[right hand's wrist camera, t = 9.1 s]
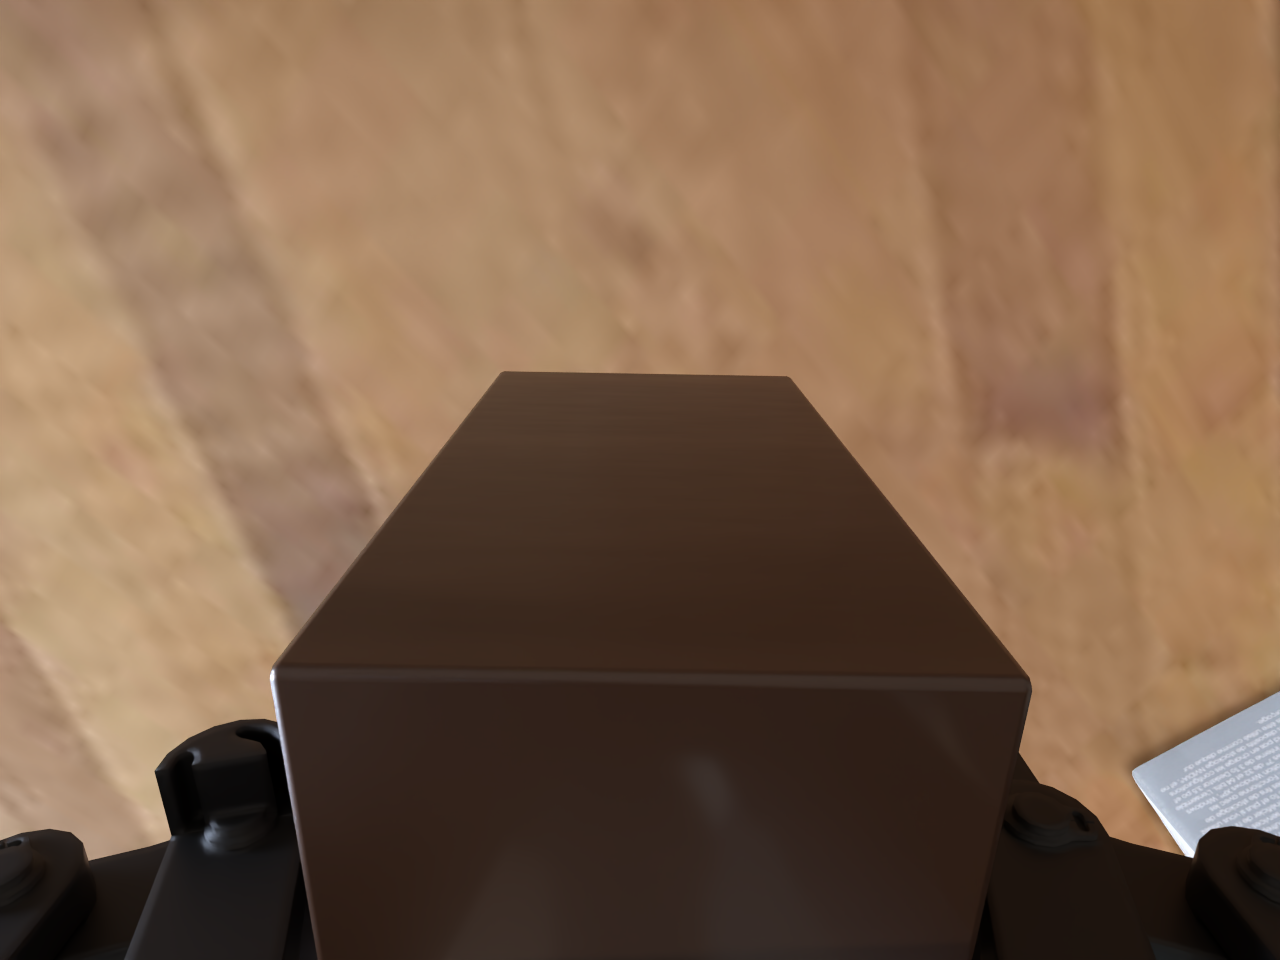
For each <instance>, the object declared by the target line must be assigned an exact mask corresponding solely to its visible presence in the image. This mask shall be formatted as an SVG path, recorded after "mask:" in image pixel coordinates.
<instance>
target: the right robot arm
mask: <svg viewBox="0 0 1280 960" xmlns="http://www.w3.org/2000/svg"><path fill="white" fill-rule="evenodd" d="M155 775H156V779H157V782H158V786H159V790H160V794H161V797H162V801H163V805H164V809H165V813H166V816H167V820H168V824H169V828H170V831H171V835H172V836H171V839H170V840H169V841H166V842H163V843H159V844H156V845H153V846H150V847H146V848H141V849H137V850H133V851H129V852H124V853H120V854H116V855H112V856H107V857H103V858H99V859H95V860H90V861H88V858H87V855H86V852H85V848H84V845H83V843H82V842H81V841H80V840H79V839H78V838H77V837H76V836H74V835H73V834H72V833H71V832H65V831H59V830H53V829H46V830H39V831H32V832H25V833H20V834H17V835H15V836H12V837H9V838H6V839H3V840H0V960H318V958H317V952H316V947H315V941H314V935H313V929H312V923H311V917H310V911H309V905H308V900H307V894H306V888H305V882H304V876H303V870H302V864H301V858H300V852H299V847H298V841H297V835H296V829H295V823H294V817H293V811H292V805H291V800H290V794H289V788H288V782H287V776H286V770H285V764H284V758H283V753H282V747H281V741H280V735H279V729H278V723H277V722H274V721H270V720H267V719H252V720H238V721H234V722H230V723H226V724H222V725H218V726H214V727H212V728H210V729H208V730H205V731H203V732H201V733H199V734H197V735H195V736H192V737H190V738H188V739H187V740H186V741H184V742H183V743H181V744H180V745H179V746H177V747H176V748H175V749H173V750H172V751H171V752H169V753H168V754H167V755H166V757H165V758H164V759H163V761H162V762H161V763H160V765H159V766H158V767H157V769H156V770H155ZM972 960H1280V837H1279V836H1276V835H1274V834H1271V833H1268V832H1265V831H1262V830H1258V829H1251V828H1244V827H1237V826H1228V827H1221V828H1215V829H1210V830H1209V831H1208V832H1207V833H1206V834H1205V835H1204V836H1202V837H1201V838H1200V839H1199V841H1198V844H1197V847H1196V851H1195V854H1194V857H1193V858H1191V857H1187V856H1183V855H1179V854H1174V853H1170V852H1166V851H1162V850H1157V849H1153V848H1149V847H1144V846H1140V845H1136V844H1132V843H1129V842H1125V841H1122V840H1119V839H1116V838H1112V837H1109V835H1108V834H1107V832H1106V830H1105V829H1104V827H1103V826H1102V824H1101V823H1100V821H1099V820H1098V818H1097V817H1096V816H1095V815H1094V814H1093V813H1092V812H1091V811H1089V810H1088V809H1087V808H1086V807H1085V806H1083V805H1082V804H1081V803H1080V802H1079V801H1077V800H1076V799H1074V798H1072V797H1070V796H1068V795H1066V794H1065V793H1063V792H1061V791H1059V790H1057V789H1055V788H1053V787H1050V786H1046V785H1043V784H1040V783H1039V782H1038V781H1037V779H1036V778H1035V776H1034V775H1033V773H1032V772H1031V770H1030V769H1029V767H1028V766H1027V764H1026V763H1025V761H1024V760H1023V758H1022V757H1021V755H1020V754H1019V752H1018V757H1017V761H1016V765H1015V770H1014V774H1013V779H1012V783H1011V788H1010V792H1009V797H1008V801H1007V806H1006V810H1005V815H1004V819H1003V824H1002V828H1001V833H1000V837H999V841H998V846H997V850H996V855H995V859H994V864H993V868H992V873H991V877H990V882H989V886H988V891H987V895H986V900H985V904H984V909H983V913H982V917H981V922H980V926H979V931H978V935H977V940H976V944H975V949H974V953H973V958H972Z"/></svg>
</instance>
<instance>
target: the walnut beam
mask: <svg viewBox="0 0 1280 960" xmlns="http://www.w3.org/2000/svg"><path fill="white" fill-rule="evenodd" d="M270 682H271V688H272V694H273V700H274V706H275V711H276V717H277V723H278V729H279V735H280V741H281V747H282V753H283V758H284V764H285V770H286V776H287V782H288V788H289V794H290V800H291V805H292V811H293V817H294V823H295V829H296V835H297V841H298V847H299V852H300V858H301V864H302V870H303V876H304V882H305V888H306V894H307V900H308V905H309V911H310V917H311V923H312V929H313V935H314V941H315V947H316V952H317V958H318V960H972V958H973V953H974V949H975V944H976V940H977V935H978V931H979V926H980V922H981V917H982V913H983V909H984V904H985V900H986V895H987V891H988V886H989V882H990V877H991V873H992V868H993V864H994V859H995V855H996V850H997V846H998V841H999V837H1000V833H1001V828H1002V824H1003V819H1004V815H1005V810H1006V806H1007V801H1008V797H1009V792H1010V788H1011V783H1012V779H1013V774H1014V770H1015V765H1016V761H1017V757H1018V752H1019V748H1020V743H1021V739H1022V734H1023V730H1024V725H1025V721H1026V716H1027V712H1028V707H1029V703H1030V698H1031V694H1032V686H1031V682H1030V678H1029V676H1028V675H1027V674H1026V673H1025V671H1024V670H1023V669H1022V668H1021V666H1020V665H1019V664H1018V663H1017V661H1016V660H1015V659H1014V658H1013V656H1012V655H1011V654H1010V653H1009V651H1008V650H1007V649H1006V648H1005V646H1004V645H1003V644H1002V643H1001V641H1000V640H999V639H998V638H997V636H996V635H995V634H994V633H993V631H992V630H991V629H990V627H989V626H988V625H987V624H986V622H985V621H984V620H983V619H982V617H981V616H980V615H979V614H978V612H977V611H976V610H975V609H974V607H973V606H972V605H971V604H970V602H969V601H968V600H967V599H966V597H965V596H964V595H963V594H962V592H961V591H960V590H959V589H958V587H957V586H956V585H955V584H954V582H953V581H952V580H951V579H950V577H949V576H948V575H947V574H946V572H945V571H944V570H943V569H942V567H941V566H940V565H939V564H938V562H937V561H936V560H935V559H934V557H933V556H932V555H931V554H930V552H929V551H928V550H927V549H926V547H925V546H924V545H923V544H922V542H921V541H920V540H919V539H918V537H917V536H916V535H915V534H914V532H913V531H912V530H911V529H910V527H909V526H908V525H907V524H906V522H905V521H904V520H903V519H902V517H901V516H900V515H899V514H898V512H897V511H896V510H895V509H894V507H893V506H892V505H891V504H890V502H889V501H888V500H887V499H886V497H885V496H884V495H883V494H882V492H881V491H880V490H879V488H878V487H877V486H876V485H875V483H874V482H873V481H872V480H871V478H870V477H869V476H868V475H867V473H866V472H865V471H864V470H863V468H862V467H861V466H860V465H859V463H858V462H857V461H856V460H855V458H854V457H853V456H852V455H851V453H850V452H849V451H848V450H847V448H846V447H845V446H844V445H843V443H842V442H841V441H840V440H839V438H838V437H837V436H836V435H835V433H834V432H833V431H832V430H831V428H830V427H829V426H828V425H827V423H826V422H825V421H824V420H823V418H822V417H821V416H820V415H819V413H818V412H817V411H816V410H815V408H814V407H813V406H812V405H811V403H810V402H809V401H808V400H807V398H806V397H805V396H804V395H803V393H802V392H801V391H800V390H799V388H798V387H797V386H796V385H795V383H794V382H793V381H792V380H791V378H789V377H787V376H734V375H677V374H620V373H563V372H506V371H504V372H502V373H500V374H499V376H498V377H497V378H496V380H495V381H494V382H493V383H492V385H491V386H490V387H489V389H488V390H487V391H486V392H485V394H484V395H483V396H482V398H481V399H480V400H479V401H478V403H477V404H476V405H475V407H474V408H473V409H472V410H471V412H470V413H469V414H468V416H467V417H466V418H465V419H464V421H463V422H462V423H461V425H460V426H459V427H458V428H457V430H456V431H455V432H454V434H453V435H452V436H451V437H450V439H449V440H448V441H447V443H446V444H445V445H444V446H443V448H442V449H441V450H440V452H439V453H438V454H437V455H436V457H435V458H434V459H433V461H432V462H431V463H430V464H429V466H428V467H427V468H426V469H425V471H424V472H423V473H422V475H421V476H420V477H419V478H418V480H417V481H416V482H415V484H414V485H413V486H412V487H411V489H410V490H409V491H408V493H407V494H406V495H405V496H404V498H403V499H402V500H401V502H400V503H399V504H398V505H397V507H396V508H395V509H394V511H393V512H392V513H391V514H390V516H389V517H388V518H387V520H386V521H385V522H384V523H383V525H382V526H381V527H380V529H379V530H378V531H377V532H376V534H375V535H374V536H373V538H372V539H371V540H370V541H369V543H368V544H367V545H366V547H365V548H364V549H363V550H362V552H361V553H360V554H359V555H358V557H357V558H356V559H355V561H354V562H353V563H352V564H351V566H350V567H349V568H348V570H347V571H346V572H345V573H344V575H343V576H342V577H341V579H340V580H339V581H338V582H337V584H336V585H335V586H334V588H333V589H332V590H331V591H330V593H329V594H328V595H327V597H326V598H325V599H324V600H323V602H322V603H321V604H320V606H319V607H318V608H317V609H316V611H315V612H314V613H313V615H312V616H311V617H310V618H309V620H308V621H307V622H306V624H305V625H304V626H303V627H302V629H301V630H300V631H299V633H298V634H297V635H296V636H295V638H294V639H293V640H292V641H291V643H290V644H289V645H288V647H287V648H286V649H285V650H284V652H283V653H282V654H281V656H280V657H279V658H278V659H277V661H276V662H275V663H274V665H273V667H272V670H271V673H270Z"/></svg>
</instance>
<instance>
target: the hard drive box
mask: <svg viewBox="0 0 1280 960" xmlns="http://www.w3.org/2000/svg"><path fill="white" fill-rule="evenodd" d="M1132 776H1133V777H1134V779H1135V781H1136V783H1137V784H1138V786H1139V787H1140V789H1141V790H1142V792H1143V793H1144V795H1145V796H1146V798H1147V799H1148V801H1149V802H1150V804H1151V805H1152V807H1153V808H1154V809H1155V811H1156V812H1157V814H1158V815H1159V816H1160V818H1161V820H1162V822H1163V823H1164V825H1165V826H1166V828H1167V829H1168V831H1169V832H1170V834H1171V835H1172V837H1173V838H1174V840H1175V841H1176V843H1177V844H1178V845H1179V847H1180V848H1181V850H1182V851H1183V853H1184V854H1185V856H1187V857H1191V858H1193V857H1194V854H1195V851H1196V847H1197V844H1198V841H1199V839H1200V838H1201V837H1202V836H1204V835H1205V834H1206V833H1207V832H1208V831H1209V830H1210V829H1215V828H1221V827H1228V826H1237V827H1244V828H1251V829H1258V830H1262V831H1265V832H1268V833H1271V834H1274V835H1276V836H1279V837H1280V691H1279V692H1277V693H1275V694H1274V695H1272V696H1270V697H1268V698H1266V699H1264V700H1262V701H1260V702H1259V703H1257V704H1255V705H1253V706H1251V707H1249V708H1247V709H1245V710H1243V711H1241V712H1239V713H1238V714H1236V715H1234V716H1232V717H1230V718H1228V719H1226V720H1224V721H1222V722H1221V723H1219V724H1217V725H1215V726H1213V727H1211V728H1209V729H1207V730H1205V731H1204V732H1202V733H1200V734H1198V735H1196V736H1194V737H1192V738H1190V739H1189V740H1187V741H1185V742H1183V743H1181V744H1179V745H1178V746H1176V747H1174V748H1172V749H1170V750H1168V751H1166V752H1165V753H1163V754H1161V755H1159V756H1157V757H1155V758H1153V759H1151V760H1150V761H1148V762H1146V763H1144V764H1142V765H1140V766H1138V767H1137V768H1135V769H1134V770H1133V771H1132Z"/></svg>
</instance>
